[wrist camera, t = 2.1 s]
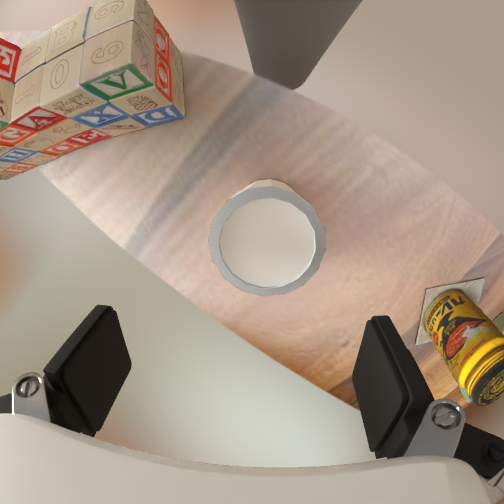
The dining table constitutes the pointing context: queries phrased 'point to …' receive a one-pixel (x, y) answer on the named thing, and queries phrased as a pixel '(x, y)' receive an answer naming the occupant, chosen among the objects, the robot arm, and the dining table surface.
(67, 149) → the stack of blocks
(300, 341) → the dining table surface
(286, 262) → the shot glass
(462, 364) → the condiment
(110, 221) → the dining table surface
